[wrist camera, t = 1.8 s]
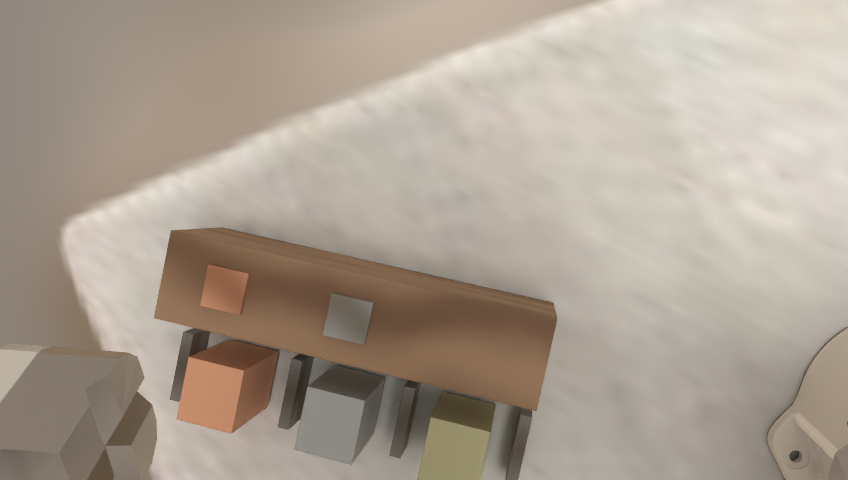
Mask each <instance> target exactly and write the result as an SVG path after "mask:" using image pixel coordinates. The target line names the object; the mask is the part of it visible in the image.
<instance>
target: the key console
mask: <svg viewBox="0 0 848 480" xmlns="http://www.w3.org/2000/svg"><path fill="white" fill-rule="evenodd" d="M154 318H157V319H161V320H165V321H169V322H173V323H177V324H181V325H185V326H189V327H194V328H193V329H191V330H188V331H185V332H183V336H182V341H181V346H180V351H179V356H178V361H177V366H176V371H175V376H174V382H173V387H172V392H171V397H170V400H174V401H178V402H180V399H181V393H182V388H183V383H184V378H185V373H186V368H187V363H188V358H189V357H190V356H192V355H195V354H197V353H199V352H202V351H204V350H206V347H207V342H208V337H209V332H214V333H218V334H222V335H226V336H230V337H235V338H239V339H243V340H247V341H251V342H255V343H259V344H263V345H267V346H272V347H276V348H280V349H284V350H288V351H292V352H296V353H300V354H299V355H297V356H295V357H294V358H292V361H291V366H290V370H289V375H288V380H287V385H286V390H285V395H284V400H283V404H282V409H281V414H280V419H279V424H278V427H279V428H283V429H287V430H288V429H290V428H291V427H292V426H293V425H294V424H295V423H296V422H297V421H298V420H300V418H301V414H302V409H303V404H304V399H305V394H306V389H307V385H308V380H309V375H310V370H311V365H312V360H313V357H317V358H321V359H325V360H329V361H333V362H337V363H341V364H345V365H349V366H354V367H358V368H362V369H366V370H370V371H374V372H378V373H382V374H386V375H391V376H395V377H399V378H403V379H407V380H408V382H407V383H406V385H405V386H404V390H403V395H402V400H401V404H400V409H399V414H398V418H397V423H396V427H395V432H394V437H393V441H392V446H391V451H390V455H389V456H393V457H397V458H401V456H402V454H403V452H404V450H405V448H406V446H407V443H408V438H409V433H410V429H411V424H412V420H413V415H414V410H415V406H416V401H417V396H418V392H419V387H420V383H423V384H427V385H432V386H436V387H440V388H444V389H448V390H452V391H456V392H460V393H464V394H468V395H473V396H477V397H481V398H485V399H489V400H493V401H497V402H501V403H505V404H510V405H514V406H518V407H521V408H520V412H519V417H518V421H517V426H516V430H515V435H514V439H513V443H512V448H511V452H510V457H509V461H508V466H507V470H506V480H518V477H519V473H520V468H521V464H522V460H523V455H524V451H525V446H526V442H527V437H528V433H529V429H530V424H531V420H532V410H534V411H536V410H537V406H538V401H539V397H540V393H541V388H542V384H543V379H544V375H545V370H546V366H547V362H548V357H549V353H550V348H551V344H552V339H553V335H554V331H555V326H556V322H557V316H556V312H555V308H554V304H553V303H551V302H547V301H543V300H538V299H534V298H529V297H525V296H521V295H516V294H512V293H507V292H503V291H498V290H494V289H490V288H485V287H481V286H476V285H472V284H468V283H463V282H459V281H454V280H450V279H446V278H441V277H437V276H432V275H428V274H424V273H419V272H415V271H410V270H406V269H402V268H397V267H393V266H388V265H384V264H380V263H375V262H371V261H366V260H362V259H358V258H353V257H349V256H344V255H340V254H335V253H331V252H327V251H322V250H318V249H313V248H309V247H305V246H300V245H296V244H291V243H287V242H283V241H278V240H274V239H269V238H265V237H261V236H256V235H252V234H247V233H243V232H239V231H234V230H230V229H225V228H208V229H189V230H171V233H170V238H169V244H168V249H167V254H166V259H165V264H164V269H163V275H162V280H161V285H160V290H159V295H158V300H157V305H156V311H155V316H154Z"/></svg>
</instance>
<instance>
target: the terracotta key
mask: <svg viewBox="0 0 848 480" xmlns="http://www.w3.org/2000/svg"><path fill="white" fill-rule="evenodd" d="M278 352H279V351H275V350H270V349H266V348H262V347H258V346H254V345H250V344H246V343H242V342H238V341H234V340H227V341H225V342H223V343H220V344H218V345H216V346H213V347H211V348H209V349H206V350H204V351H202V352H199V353H197V354H195V355H192V356H190V357H189V358H188V363H187V368H186V373H185V378H184V383H183V388H182V393H181V399H180V404H179V409H178V414H177V419H178V420H181V421H185V422H189V423H193V424H197V425H201V426H205V427H208V428H212V429H216V430H220V431H224V432H228V433H233V432H234V431H235V430H237V429H238V428H239V427H241V426H242V425H243V424H245V423H246V422H248V421H249V420H250V419H252V418H253V417H254V416H256V415H257V414H258V413H260V412H261V411H262V410H264V409H265V408H266V407H267V406H268V401H269V396H270V392H271V387H272V382H273V377H274V372H275V367H276V362H277V357H278Z"/></svg>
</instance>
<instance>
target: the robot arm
mask: <svg viewBox="0 0 848 480" xmlns="http://www.w3.org/2000/svg"><path fill="white" fill-rule="evenodd" d="M143 379H144V375H143V372H142V369H141V366H140V363H139V360H138V357H137V356H134V355H132V354H130V353H125V352H113V351H102V350H90V349H79V348H67V347H56V346H50V347H44V346H34V345H33V346H32V345H23V344H12V343H11V344H9V345H6V346H4V347H2V348H0V480H144V478H145V476H146V474H147V472H148V470H149V468H150V465H151V463H152V460H153V455H154V450H155V445H156V441H157V427H156V417H155V414H154V410H153V406H152V404H151V403H149V402H148V401H147V400H146V399H145V398H144V397H143V396H142V395H141V394H139V393H138V392H137V390H138V388H139V387H140V385H141V383H142V381H143ZM767 441H768V445H769V447H770V450H771V452H772V454H773V456H774V458H775V460H776V462H777V464H778V466H779V468H780V470H781V472H782V474H783V476H784V478H785V480H848V328H847V329H845V330H844V331H842V332H841V333H839V334H838V335H837V336H835V337H834V338H833V339H832V340H831V341H830V342H828V343H827V344H826V345H825V346H824V347H823V349H822V350H821V351H820V352H819V353H818V355H817V356H816V357H815V359H814V360H813V362H812V363H811V365H810V367H809V368H808V370H807V372H806V374H805V377H804V379H803V382H802V384H801V387H800V390H799V392H798V395H797V397H796V399H795V401H794V403H793V404H792V405H791V406H790V407H789V408H788V409H787V410H786V411H785V412H784V413H783V414H782V415H781V416H780V417H779V418H778V419H777V421H776V422H775V423H774V424H773V426H772V427H771V428H770V430H769V433H768V436H767ZM792 451H799V456H798V458H797V459H794V460H791V459H790V457H789V456H790V453H791V452H792Z"/></svg>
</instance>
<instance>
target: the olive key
mask: <svg viewBox="0 0 848 480" xmlns="http://www.w3.org/2000/svg"><path fill="white" fill-rule="evenodd" d="M494 411H495V404H491V403H487V402H483V401H479V400H475V399H471V398H467V397H463V396H459V395H454V394H450V393H446V392H443V393H442V395H441V397H440V399H439V402H438V404H437V406H436V408H435V410H434V412H433V414H432V416H431V419H430V424H429V428H428V433H427V437H426V442H425V447H424V451H423V456H422V460H421V465H420V470H419V474H418V479H417V480H480V478H481V473H482V469H483V464H484V460H485V455H486V451H487V446H488V442H489V437H490V433H491V427H492V422H493V416H494Z"/></svg>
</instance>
